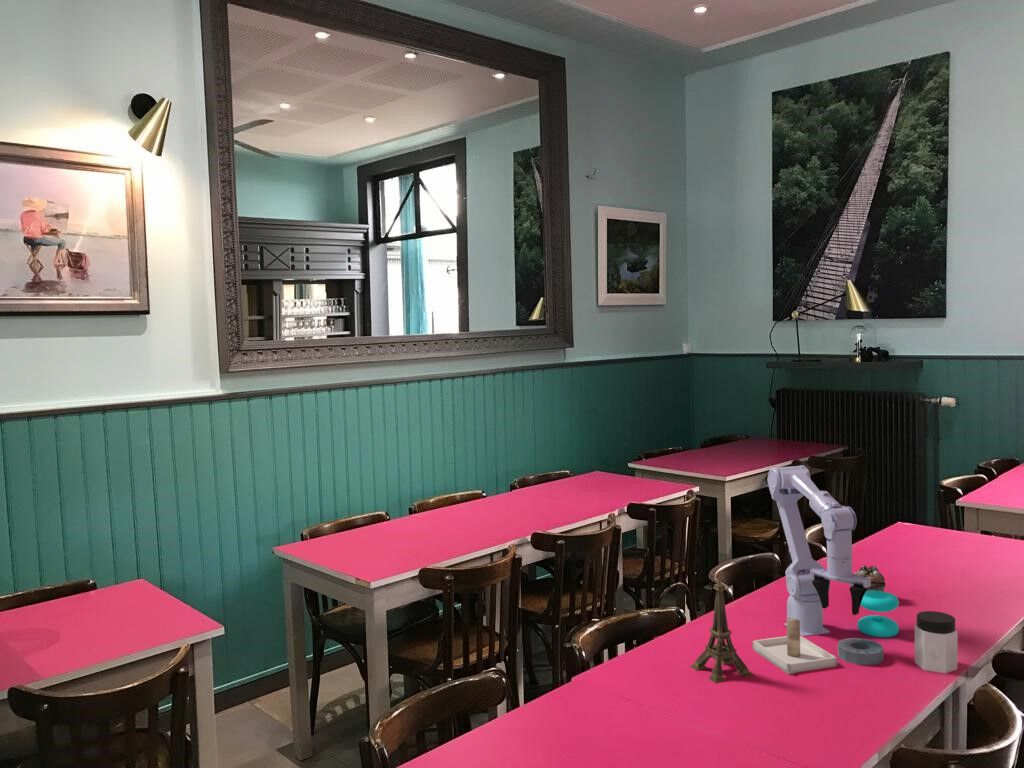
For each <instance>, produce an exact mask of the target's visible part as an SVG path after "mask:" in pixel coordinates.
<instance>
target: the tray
mask: <svg viewBox="0 0 1024 768" xmlns="http://www.w3.org/2000/svg"><path fill="white" fill-rule="evenodd" d="M752 650H753V651H754V652H756V653H757V654H758V655H760V656H761V657H762V658H764V659H766V660H767V661H768V662H769V663H771V664H773V665H774V666H775V667H777V668H779V669H780V670H781V671H783V672H784V673H786V674H787V675H794V674H796V673H799V672H806V671H814V670H820V669H826V668H834V667H838V657H837V656H835V655H834V654H832V653H830V652H828V651H827V650H825V649H823V648H821V647H820V646H819V645H817V644H815V643H813V642H812V641H810V640H809V639H807V638H805V636H802V635H800V656H799V657H790V656H788V655H787V635H784V636H778V637H776V636H775V637H770V638H763V639H762V638H761V639H755V640H752Z"/></svg>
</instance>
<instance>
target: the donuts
mask: <svg viewBox="0 0 1024 768" xmlns="http://www.w3.org/2000/svg"><path fill="white" fill-rule="evenodd" d="M899 605H900V601H899V599H898V597H897V596H896V595H895V594H893V593H890V592H887V591H885V590H884V591H875V590H871V591H866V592H865V594H864V596H863V599H862V601H861V605H860V607H862V608H864V609H866V610H868V611H871V612H878V613H886V612H887V613H888V612H891V611H894V610H896V609H897V608H898V607H899ZM857 628H858V630H859V631H860V632H861V633H862V634H864V635H867V636H870V637H876V638H892V637H894V636H896V635H898V633H899V631H900V627H899V625H898V622H897V621H896V620H893V619H892V618H890V617H887V616H884V615H876V614H875V615H874V614H873V615H872V614H870V615H866V616H862V617H861V618H859V620H858V621H857Z"/></svg>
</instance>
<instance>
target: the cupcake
mask: <svg viewBox="0 0 1024 768" xmlns="http://www.w3.org/2000/svg"><path fill="white" fill-rule="evenodd" d="M853 574H856V575H859V576H863V577H866V578H871V586H870V587H868V589H867V591H871V590H875V591H884V592H885V588H886V586H887V585H886V582H885V581H886V579H885V577H884V575H883V574H882V573H881V572H880V571H879V568H878V567H877V566H876V565H871V566H869V567H868V566H866V565H865V564H864V565H862V566H861V567H860V568H859V569H858V570H857V572H854V573H853ZM852 586H854V584H849V588H850V587H852Z"/></svg>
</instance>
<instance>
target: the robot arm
mask: <svg viewBox="0 0 1024 768" xmlns="http://www.w3.org/2000/svg"><path fill="white" fill-rule="evenodd" d="M766 482H767V486H768V489H769V492H770V495H771V499H772V500H774V501H775V502H776V506H777V509H778V511H779V512H778V514H779V516H780V520H781V523H782V528H783V532H784V536H785V539H786V542H787V546H788V550H789V553H790V557H791V561H792V562H791V563H790V564H789V565H788V567H787V568H786V569H785V572H784V573H785V581H786V582H785V583H786V584H785V585H786V590H787V592H788V593H789V595H788V598H787V600H786V620H787V619H797V620H799V621H800V636H802V637H809V636H810V637H811V636H817V635H825V634H830V633H831V630H829V629H827V628H826V627H824V618H823V617H824V616H823V615H824V613H823V612H824V610H825V609H826V608H828V607H829V604H830V600H829V599H830V594H829V591H830V588H831V581H833V582H839V583H844V584H848V585H850V584H854V586H852V587H850V586H849V591H850V592H849V593H850V598H851V613H852V615H853V616H857V615H858V614H859V612H860V609H861V601H862V599H863V596H864V594H865V592H866V591H867V589H868V587H870V586H871V578H866V577H863V576H859V575H856V574H854V573H853V547H852V545H853V543H852V542H853V541H852V537H853V535H852V531H854V530H855V529H856V527H857V515H856V513H855V511H854V510H853V508H852V507H851V506H844V505H841V504H840V503H839V502H838V501H837V500H836V499H835V498H834V497H833V496H832V495H831V494H830V493H829V492H828V491H827V490H820V489H819V488H818V487H817V486H816V484H815V482H814V481H812V479H811V472H810V470H809V469H808V468H807V467H806V465H803V464H800V465H797V466H796V465H795V466H779V467H775V466H773V467H771V468H770V469H769V471H768V474H767V481H766ZM803 497H806V499H808V500H809V502H808V503H809V504H808V505H809V507H810V508H811V510H813V512H815V514H816V515H817V516H818V517H819V518H820V519H821V520H820V521H821V525H822V528H823V535H824V537H825V538H826V569H824V566H823V564H821V563H820V562H818V561H817V560H815V559H814V558H813V556H812V554H811V553H812V552H811V550H810V546H809V543H808V539H807V536H806V532H805V528H804V524H803V521H802V518H801V514H800V511H799V510H800V509H799V507H798V501H799V500H800V499H801V498H803ZM784 626H786V627H787V622H785V623H784Z"/></svg>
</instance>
